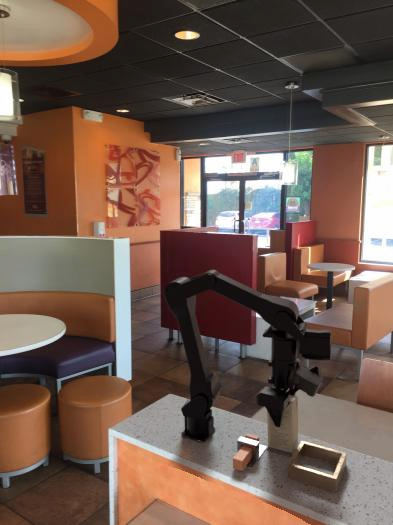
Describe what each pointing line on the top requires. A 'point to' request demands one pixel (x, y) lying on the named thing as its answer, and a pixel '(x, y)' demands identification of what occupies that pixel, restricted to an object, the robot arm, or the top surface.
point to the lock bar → (244, 454)
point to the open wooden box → (312, 475)
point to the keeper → (257, 449)
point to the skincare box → (285, 428)
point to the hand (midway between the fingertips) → (282, 419)
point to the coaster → (279, 451)
